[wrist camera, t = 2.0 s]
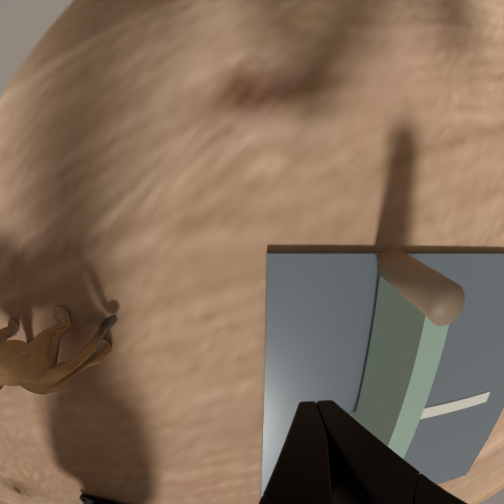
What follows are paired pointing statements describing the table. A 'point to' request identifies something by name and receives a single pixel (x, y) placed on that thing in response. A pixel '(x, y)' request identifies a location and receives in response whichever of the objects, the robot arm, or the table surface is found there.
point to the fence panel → (405, 346)
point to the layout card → (357, 347)
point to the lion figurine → (47, 356)
